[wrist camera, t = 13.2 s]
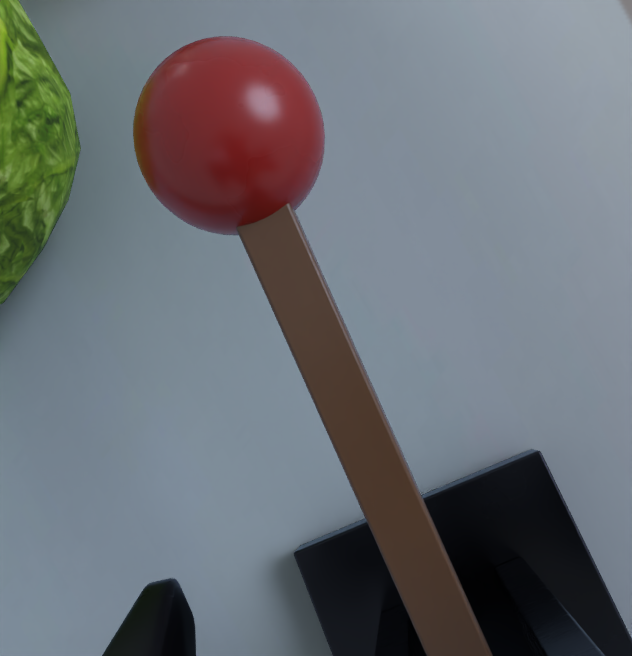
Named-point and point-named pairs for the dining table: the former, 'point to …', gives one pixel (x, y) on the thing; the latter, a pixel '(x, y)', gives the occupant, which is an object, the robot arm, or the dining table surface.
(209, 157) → the lever
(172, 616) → the robot arm
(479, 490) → the bracket
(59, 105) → the lettuce
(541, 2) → the dining table surface
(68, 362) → the dining table surface
